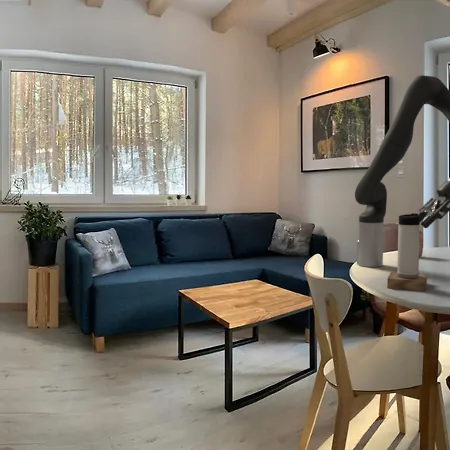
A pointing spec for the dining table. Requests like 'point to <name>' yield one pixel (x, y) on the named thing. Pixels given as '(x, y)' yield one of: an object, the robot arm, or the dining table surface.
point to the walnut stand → (407, 282)
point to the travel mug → (408, 245)
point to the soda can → (420, 243)
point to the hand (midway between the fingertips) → (418, 224)
